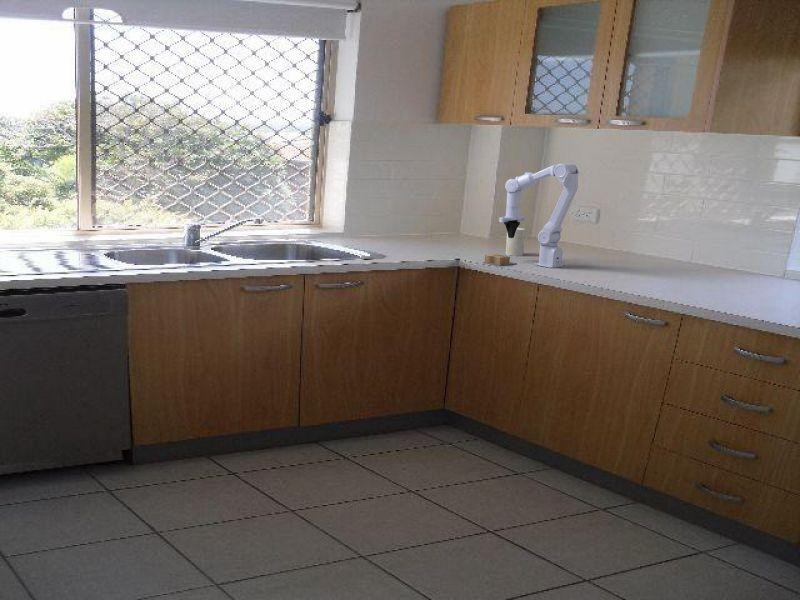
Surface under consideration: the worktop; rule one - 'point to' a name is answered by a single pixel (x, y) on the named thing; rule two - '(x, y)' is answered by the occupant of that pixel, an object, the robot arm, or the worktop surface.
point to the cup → (516, 243)
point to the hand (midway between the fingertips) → (511, 237)
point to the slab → (497, 259)
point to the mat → (498, 264)
